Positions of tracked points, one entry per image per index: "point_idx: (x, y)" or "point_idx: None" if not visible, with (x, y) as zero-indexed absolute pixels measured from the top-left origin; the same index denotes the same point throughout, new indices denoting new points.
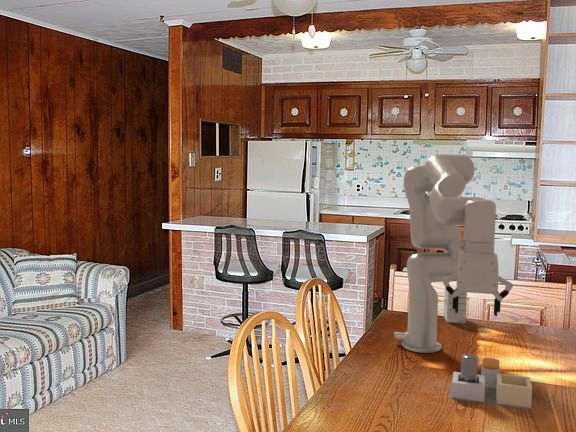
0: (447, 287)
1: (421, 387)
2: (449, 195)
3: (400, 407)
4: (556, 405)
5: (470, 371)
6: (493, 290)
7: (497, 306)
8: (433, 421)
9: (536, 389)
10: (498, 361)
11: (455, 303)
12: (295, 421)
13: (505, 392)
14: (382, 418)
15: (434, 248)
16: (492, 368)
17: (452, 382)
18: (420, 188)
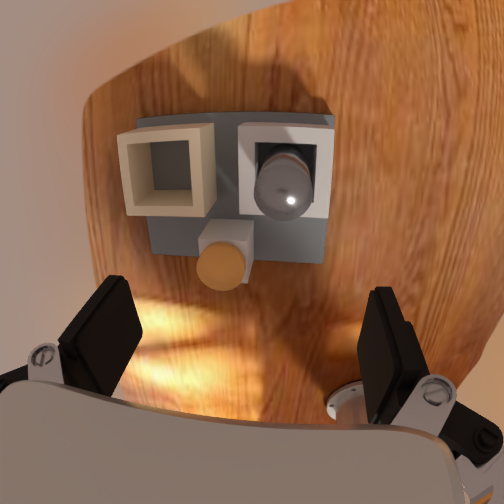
0: (498, 445)
1: (395, 204)
2: None
3: (438, 74)
4: (105, 193)
5: (280, 155)
6: (15, 395)
7: (79, 313)
8: (362, 13)
9: (144, 263)
10: (199, 271)
11: (408, 332)
12: None
13: (185, 126)
14: (461, 18)
15: None
16: (216, 242)
17: (333, 129)
18: None
